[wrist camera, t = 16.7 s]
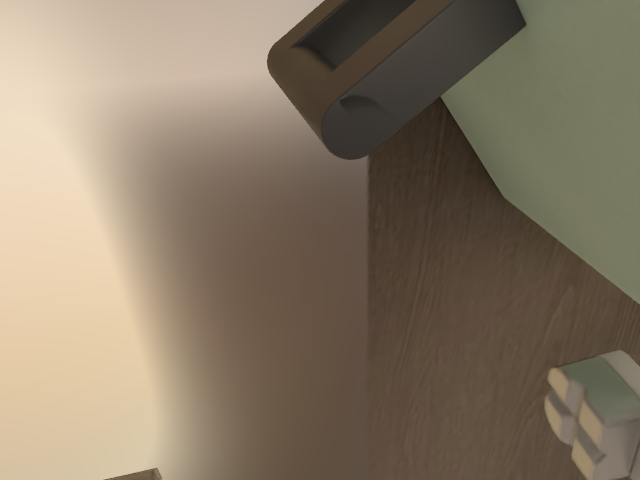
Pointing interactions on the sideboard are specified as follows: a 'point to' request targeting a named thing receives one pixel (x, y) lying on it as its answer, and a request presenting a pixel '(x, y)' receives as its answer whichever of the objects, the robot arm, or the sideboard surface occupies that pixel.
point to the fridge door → (492, 101)
